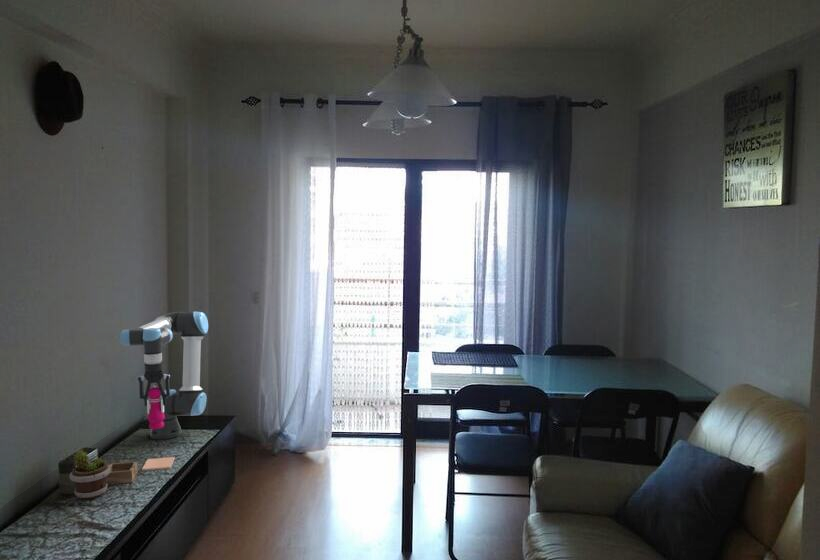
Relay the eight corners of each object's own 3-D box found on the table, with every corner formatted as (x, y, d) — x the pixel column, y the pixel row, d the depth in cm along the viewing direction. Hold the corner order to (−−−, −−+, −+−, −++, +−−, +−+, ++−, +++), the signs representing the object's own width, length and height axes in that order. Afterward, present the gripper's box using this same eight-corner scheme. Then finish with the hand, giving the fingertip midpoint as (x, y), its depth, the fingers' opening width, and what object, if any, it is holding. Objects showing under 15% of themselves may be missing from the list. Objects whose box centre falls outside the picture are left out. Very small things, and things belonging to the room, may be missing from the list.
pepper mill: (161, 423, 290) (159, 381, 288) (167, 426, 285) (165, 383, 283) (145, 426, 285) (143, 384, 283) (152, 430, 280) (149, 387, 278)
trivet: (147, 460, 291) (147, 459, 291) (174, 458, 294) (174, 457, 294) (142, 470, 280) (141, 469, 280) (170, 468, 282) (170, 466, 282)
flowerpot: (117, 486, 263) (115, 440, 261) (100, 502, 248) (98, 453, 246) (82, 487, 263) (79, 441, 261) (63, 503, 247) (60, 454, 246)
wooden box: (111, 474, 276) (110, 463, 275) (137, 472, 278) (137, 461, 278) (104, 484, 265) (103, 473, 265) (132, 482, 267) (131, 470, 267)
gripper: (129, 365, 277) (132, 416, 279) (173, 363, 281) (175, 413, 283) (133, 361, 284) (136, 411, 286) (176, 359, 288) (178, 408, 290)
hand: (155, 412), depth 285 cm, fingers closed on pepper mill, 5 cm apart
